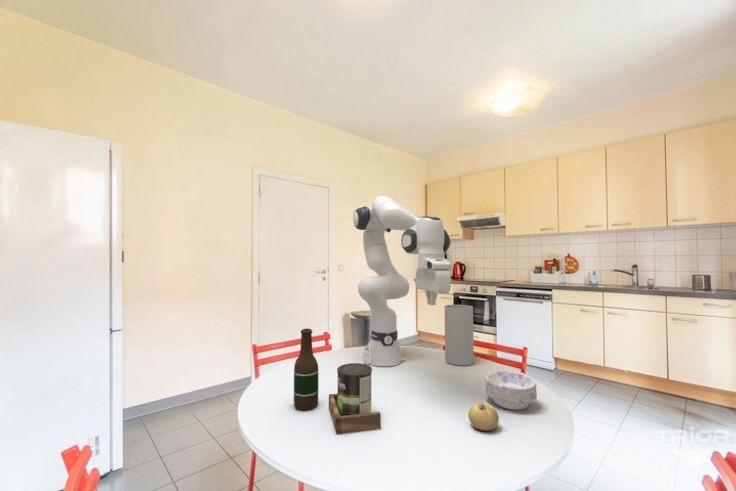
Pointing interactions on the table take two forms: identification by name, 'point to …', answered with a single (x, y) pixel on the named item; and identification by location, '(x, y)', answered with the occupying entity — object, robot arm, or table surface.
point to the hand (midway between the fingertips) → (431, 304)
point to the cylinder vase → (459, 335)
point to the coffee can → (354, 389)
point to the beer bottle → (306, 375)
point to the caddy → (352, 419)
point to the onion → (483, 416)
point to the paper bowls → (510, 389)
